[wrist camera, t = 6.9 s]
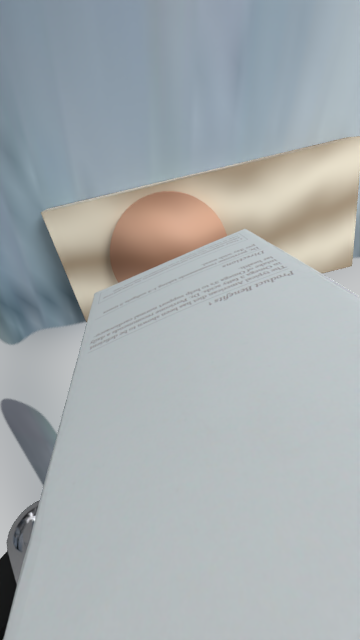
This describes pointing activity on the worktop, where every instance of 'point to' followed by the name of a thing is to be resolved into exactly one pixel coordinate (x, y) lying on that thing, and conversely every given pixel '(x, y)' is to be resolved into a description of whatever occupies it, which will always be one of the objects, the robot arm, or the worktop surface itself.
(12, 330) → the worktop surface
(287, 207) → the board
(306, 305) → the supplement box
